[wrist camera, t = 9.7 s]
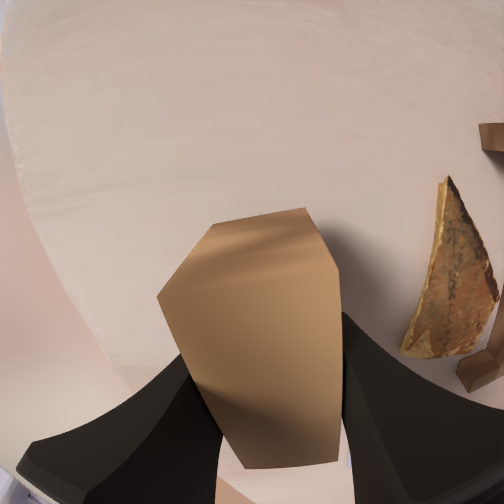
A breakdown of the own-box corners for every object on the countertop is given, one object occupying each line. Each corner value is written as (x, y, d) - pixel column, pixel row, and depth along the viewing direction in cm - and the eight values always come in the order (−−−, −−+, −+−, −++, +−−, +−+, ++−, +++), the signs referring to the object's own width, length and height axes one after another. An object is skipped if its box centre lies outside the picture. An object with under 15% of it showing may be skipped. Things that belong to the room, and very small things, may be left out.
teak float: (305, 207, 10) (338, 269, 5) (323, 366, 12) (337, 460, 7) (212, 224, 10) (156, 296, 5) (255, 375, 13) (245, 468, 8)
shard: (433, 172, 11) (451, 175, 10) (512, 197, 11) (529, 202, 9) (391, 346, 15) (400, 364, 13) (470, 339, 14) (480, 352, 13)
